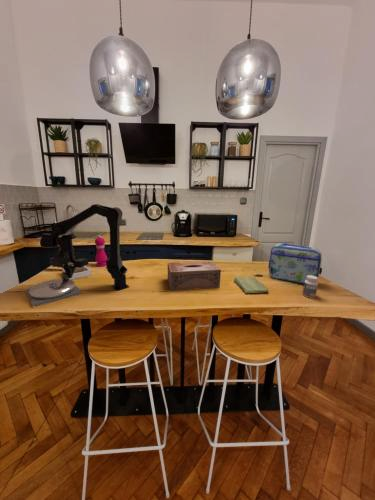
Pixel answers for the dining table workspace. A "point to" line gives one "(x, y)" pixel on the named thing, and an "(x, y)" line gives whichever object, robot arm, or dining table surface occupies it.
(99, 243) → the pepper mill
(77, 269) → the block
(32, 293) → the crank
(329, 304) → the dining table surface
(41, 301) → the crank board
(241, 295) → the dining table surface
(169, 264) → the tissue box cover
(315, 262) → the lunch box
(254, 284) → the washcloth
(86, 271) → the tray
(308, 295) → the pill bottle
